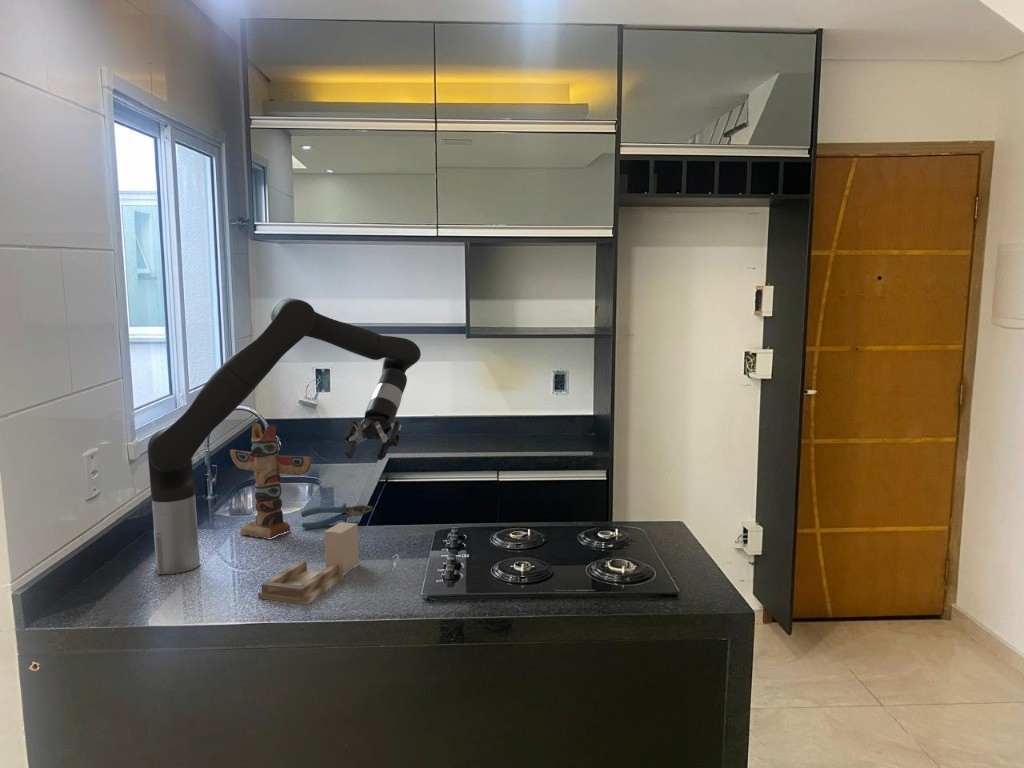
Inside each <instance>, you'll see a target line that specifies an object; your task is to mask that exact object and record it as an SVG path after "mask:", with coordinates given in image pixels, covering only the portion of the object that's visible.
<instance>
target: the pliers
mask: <svg viewBox="0 0 1024 768" xmlns="http://www.w3.org/2000/svg"><path fill="white" fill-rule="evenodd" d="M373 510H374V507H373V506H371V505H364V504H357V505H353V506H347V504H346V502H343V503H342V504H341V505H340V506H323V505H322V506H315V507H310V508H307V509H304V510H302V511H301V512H300V515H301V517H302V518H306V517H309V516H312V515H316V514H327V513H328V514H329V513H330V514H337V515H334V516H331V517H328V518H326V519H322V520H318V521H313V522H312V521H311V522H302V523H301V528H304V529H307V530H310V529H318V528H319V529H320V528H323V527H326V526H329V525H331V524H334V523H337V522H341V521H342V522H343V523H348V518H352V517H361V516H363V515H366V514H368V513H369V512H372V511H373Z"/></svg>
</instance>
